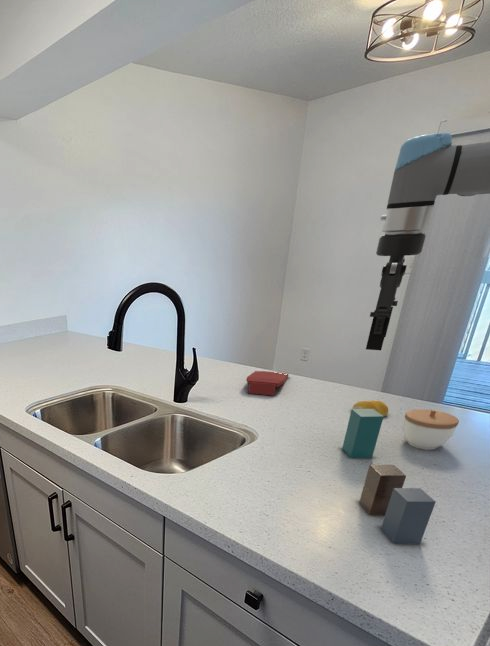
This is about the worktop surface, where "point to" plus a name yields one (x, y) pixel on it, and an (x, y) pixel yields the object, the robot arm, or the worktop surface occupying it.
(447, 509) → the worktop surface
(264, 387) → the carton
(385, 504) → the walnut block
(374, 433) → the teal block
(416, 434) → the trinket box
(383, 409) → the bread roll
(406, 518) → the slate block
